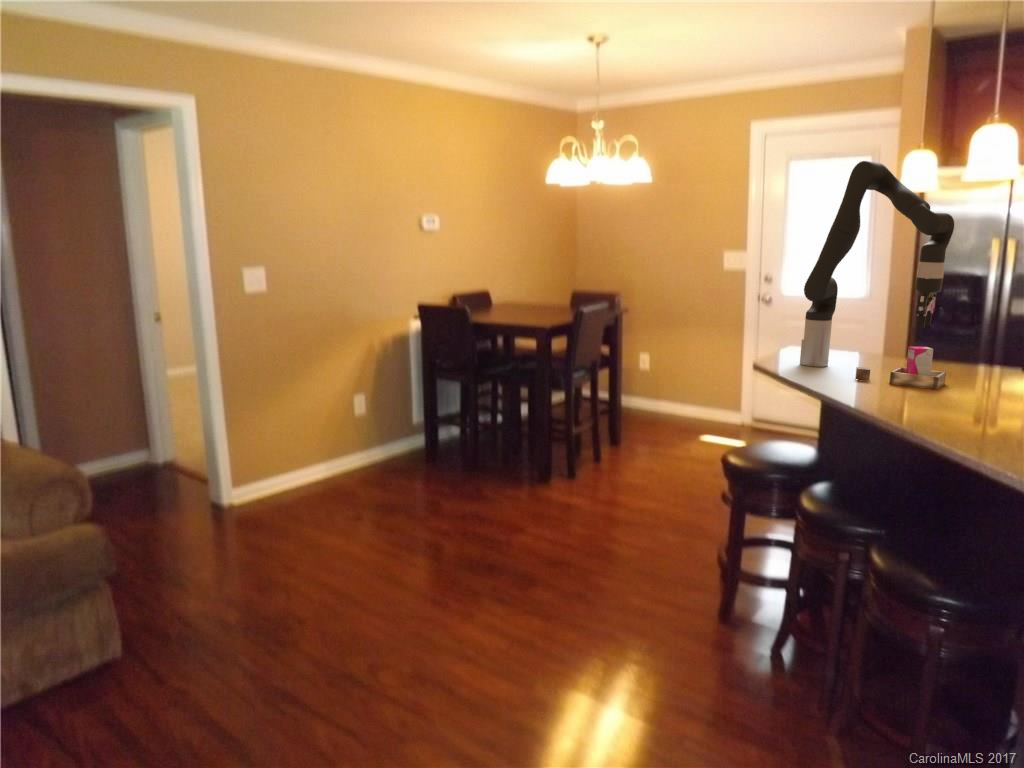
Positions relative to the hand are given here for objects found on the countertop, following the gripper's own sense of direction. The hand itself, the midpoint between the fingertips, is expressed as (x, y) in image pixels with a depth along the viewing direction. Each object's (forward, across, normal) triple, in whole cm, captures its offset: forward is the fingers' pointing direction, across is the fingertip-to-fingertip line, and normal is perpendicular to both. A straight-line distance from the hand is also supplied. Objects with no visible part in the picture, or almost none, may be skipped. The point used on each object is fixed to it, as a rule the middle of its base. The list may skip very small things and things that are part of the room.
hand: (923, 326), depth 245 cm
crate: (+19, 0, 0) cm, 19 cm away
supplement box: (+19, 0, 0) cm, 19 cm away
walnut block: (+20, +4, -16) cm, 25 cm away
